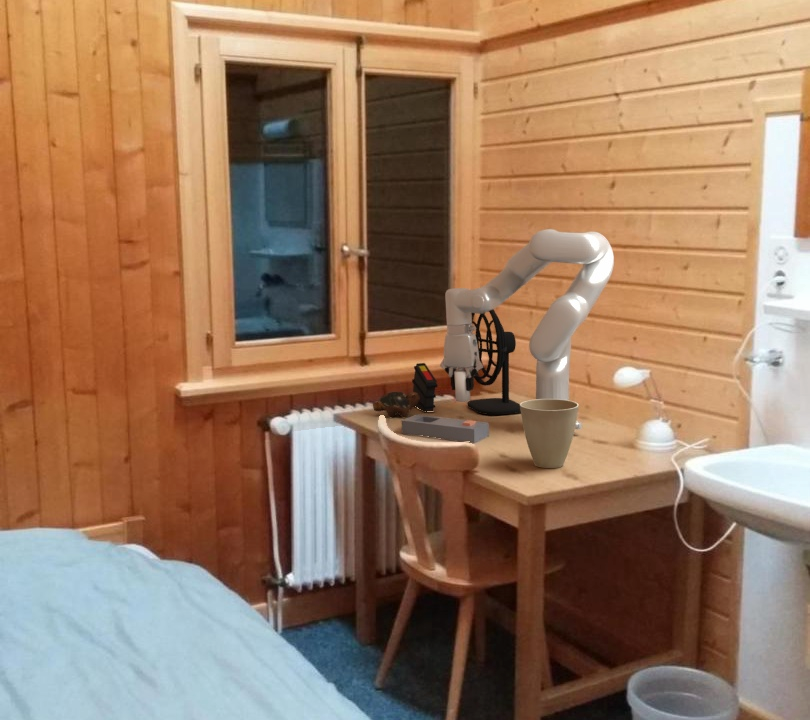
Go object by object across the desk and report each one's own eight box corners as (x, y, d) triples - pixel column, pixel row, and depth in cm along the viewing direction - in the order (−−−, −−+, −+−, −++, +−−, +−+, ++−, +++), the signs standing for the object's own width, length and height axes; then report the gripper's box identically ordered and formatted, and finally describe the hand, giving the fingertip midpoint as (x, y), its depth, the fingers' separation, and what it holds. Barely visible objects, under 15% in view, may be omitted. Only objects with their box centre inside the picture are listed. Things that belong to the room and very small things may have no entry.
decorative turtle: (420, 419, 306) (418, 394, 304) (372, 422, 307) (370, 397, 305) (421, 410, 315) (419, 386, 314) (375, 414, 317) (372, 390, 315)
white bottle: (472, 399, 296) (471, 363, 294) (466, 402, 292) (464, 365, 291) (460, 398, 298) (458, 362, 297) (453, 401, 295) (451, 365, 293)
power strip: (488, 436, 283) (488, 420, 282) (474, 443, 275) (474, 426, 274) (417, 427, 295) (417, 411, 294) (401, 433, 287) (401, 417, 287)
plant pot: (589, 463, 253) (590, 403, 250) (556, 476, 242) (556, 413, 239) (541, 453, 263) (542, 395, 260) (508, 465, 252) (508, 405, 249)
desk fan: (452, 403, 328) (451, 299, 322) (500, 399, 333) (500, 296, 327) (482, 420, 302) (481, 307, 296) (534, 415, 307) (534, 305, 302)
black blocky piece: (418, 399, 327) (425, 362, 319) (432, 423, 318) (440, 385, 309) (407, 400, 326) (414, 363, 318) (422, 424, 316) (429, 386, 308)
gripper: (490, 328, 291) (493, 388, 293) (441, 327, 299) (444, 386, 302) (479, 331, 284) (481, 393, 287) (428, 330, 293) (432, 390, 296)
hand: (462, 389), depth 295 cm, fingers closed on white bottle, 4 cm apart
